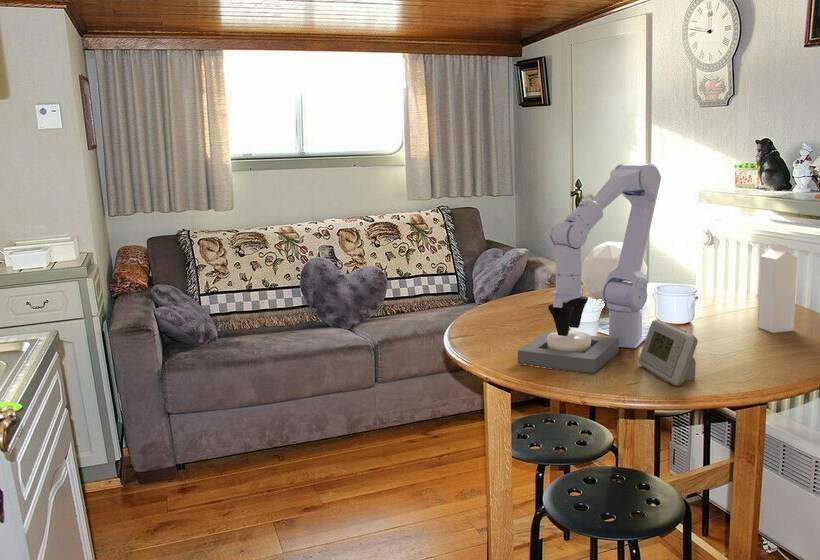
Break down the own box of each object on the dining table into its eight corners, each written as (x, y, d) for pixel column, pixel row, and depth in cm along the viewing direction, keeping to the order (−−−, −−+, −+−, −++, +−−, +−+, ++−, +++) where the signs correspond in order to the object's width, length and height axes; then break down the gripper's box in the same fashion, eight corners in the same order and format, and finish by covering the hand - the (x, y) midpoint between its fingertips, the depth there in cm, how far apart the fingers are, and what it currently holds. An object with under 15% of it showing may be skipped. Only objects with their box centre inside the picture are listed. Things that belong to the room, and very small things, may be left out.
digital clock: (636, 364, 163) (636, 318, 161) (676, 363, 163) (677, 317, 161) (658, 388, 147) (659, 338, 145) (703, 387, 147) (705, 336, 145)
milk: (772, 333, 182) (776, 246, 178) (756, 327, 188) (760, 243, 183) (794, 330, 183) (798, 244, 179) (777, 325, 189) (781, 241, 185)
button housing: (547, 344, 182) (546, 331, 181) (618, 352, 172) (618, 338, 172) (517, 364, 167) (517, 350, 166) (594, 374, 157) (594, 359, 157)
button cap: (556, 341, 176) (556, 329, 175) (596, 346, 171) (596, 333, 170) (540, 353, 168) (540, 339, 167) (582, 358, 162) (582, 344, 162)
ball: (630, 326, 220) (657, 282, 206) (567, 304, 222) (590, 258, 207) (634, 285, 233) (661, 241, 219) (575, 265, 235) (597, 219, 221)
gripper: (562, 267, 174) (563, 322, 176) (539, 278, 162) (540, 337, 164) (591, 269, 170) (591, 325, 173) (570, 280, 158) (570, 340, 161)
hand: (568, 331), depth 168 cm, fingers open, 7 cm apart
